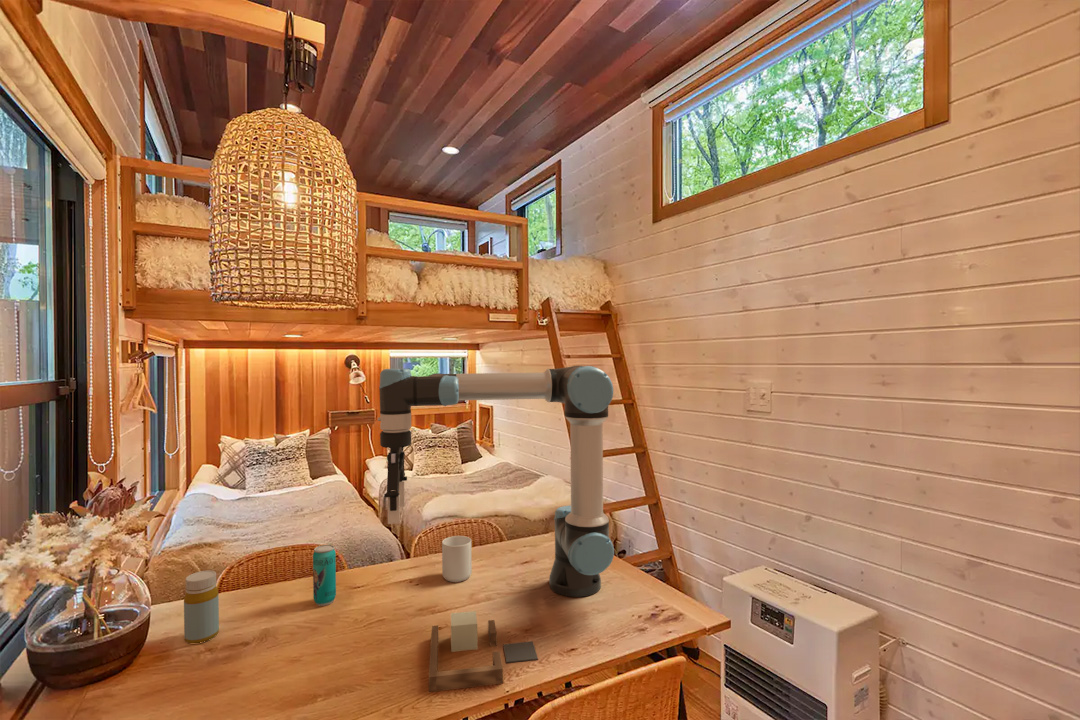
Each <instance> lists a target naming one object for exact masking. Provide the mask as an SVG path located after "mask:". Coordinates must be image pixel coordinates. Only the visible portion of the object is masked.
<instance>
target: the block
mask: <svg viewBox="0 0 1080 720" xmlns="http://www.w3.org/2000/svg"><path fill="white" fill-rule="evenodd" d="M477 618H478V617H477V611H476V610H471V611H470V610H469V611H461V612H452V613H450V646H451V647H450V652H451V653H452V652H453V653H454V652H455V653H456V652H462V651H472V650H478V619H477Z"/></svg>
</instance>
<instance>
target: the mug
mask: <svg viewBox="0 0 1080 720" xmlns="http://www.w3.org/2000/svg"><path fill="white" fill-rule="evenodd" d="M472 556H473V555H472V539H471V537H469V536H465V535H453V536H449V537H446V538H444V539H442V541H441V561H442V563H441V570H442V573H441V574H442V577H443V578H444V579H445V580H446V581H447V582H451V583H460V582H464V581H467V580H468V579H469V578H470V577H471V575H472V571H473V570H472V569H473V568H472V567H473V566H472V564H473V563H472V561H473V560H472V559H473V558H472Z"/></svg>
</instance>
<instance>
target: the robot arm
mask: <svg viewBox="0 0 1080 720" xmlns="http://www.w3.org/2000/svg"><path fill="white" fill-rule="evenodd" d="M378 388H379V414H380V415H379V417H377V421H378V422H380V424H379V425H380V426H379V429H380V430H382V431H381V432H380V433H379V437H380V439H379V443H380V444H379V445H380V446H381V447H382V448H387V449H388V448H389V452H388V454H387V455H386V460H387V479H386V481H387V483H386V493H384V494H383V495H384V496H383V497H384V498H387V524H388V525H394V524H395V525H396V524H400V523H401V514H400V513H401V509H400V508H405V503H406V501H405V500H406V498H405V482H406V481H408V476H406V473H405V458H406V457H405V456H406V455H405V454H406V452H404V448H406V447H409V446H411V445H412V431H411V430H410V429H411V428H412V407H417V406H418V407H420V406H422V407H423V406H427V407H428V406H429V407H430V406H431V407H432V406H434V407H435V406H437V407H438V406H443V407H447V406H456V405H457V404H458V403H459V401H491V400H493V401H494V400H495V401H497V400H498V401H499V400H500V401H502V400H504V401H505V400H545V401H546V402H547V403H561V404H564V418H565V419H566V420H567V422H568V423H569V425H570V426H569V427H570V429H569V431H570V436H569V437H570V505H564V506H560V507H557V508H556V509H555V511H554V518H553V520H554V561H553V565H552V568H551V571H550V574H549V578H548V579H549V581H548V583H549V585H548V586H549V588H550V589H551V590H552V592H554V593H556V594H559V595H561V596H564V597H572V598H580V597H588V596H591V595H593V594H596V593H598V592H599V591H600V590H601V587H602V578H601V574H602V573H603V572H605V571H606V570H607V568H609V567H610V565H611V564H612V563H613V559H614V556H615V549H614V544H613V542H612V540H611V538H610V524H609V523H610V521H609V517H608V516H607V514H605V513H604V467H603V465H604V461H603V460H604V450H603V449H604V447H603V446H604V445H603V444H604V439H603V438H604V437H603V436H604V433H603V431H604V429H603V426H604V425H603V423H604V422H606V420H607V419H609V406H610V404H611V402H612V400H613V397H614V386H613V382H612V380H611V378H610V376H609V375H608V374H607V373H606V372H604V371H603V369H600V368H598V367H595V366H591V365H573V366H566V367H561V368H560V367H559V368H547V369H545V370H544V371H543V372H496V373H495V372H494V373H491V372H487V373H486V372H483V373H440V372H439V373H432V374H430V375H422V376H417V375H412V373H411V370H410V369H409V368H384V369H382V370H381V371H380V373H379V386H378Z"/></svg>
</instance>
